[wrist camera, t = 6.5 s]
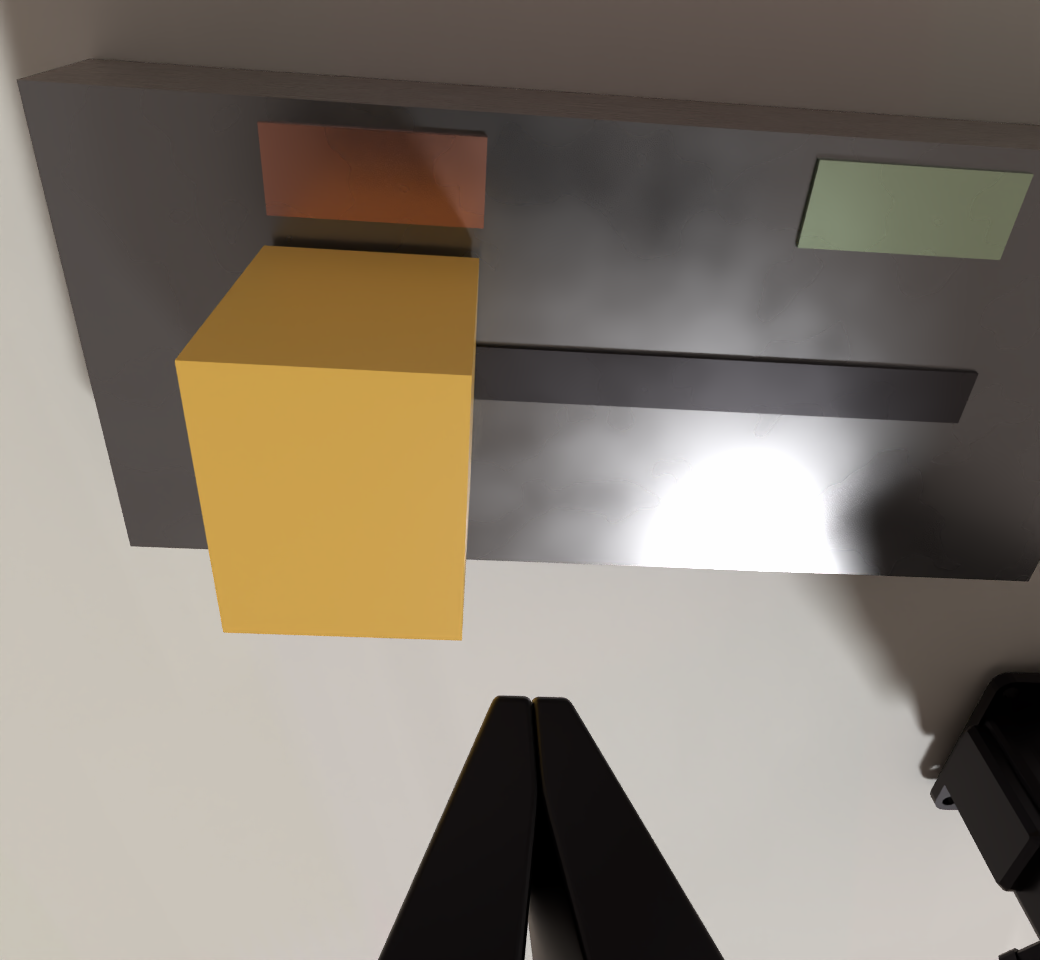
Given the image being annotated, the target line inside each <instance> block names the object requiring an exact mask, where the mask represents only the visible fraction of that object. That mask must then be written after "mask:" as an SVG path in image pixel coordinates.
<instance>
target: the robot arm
mask: <svg viewBox="0 0 1040 960" xmlns="http://www.w3.org/2000/svg"><path fill="white" fill-rule="evenodd" d="M930 795H931V797H932V799H933V801H934V803H935V805H936V807H937V808H939V809H944V810H958V811H959V813H960V815H961V817H962V818H963V820H964V822H965V824H966V826H967V828H968V830H969V832H970V834H971V835H972V837H973V839H974V841H975V843H976V845H977V847H978V849H979V851H980V853H981V854H982V856H983V858H984V860H985V862H986V864H987V866H988V868H989V870H990V871H991V873H992V875H993V877H994V879H995V881H996V883H997V884H998V885H999V886H1000V887H1001V888H1002V889H1003V890H1004V891H1013V892H1014V894H1015V895H1016V897H1017V899H1018V901H1019V903H1020V905H1021V907H1022V908H1023V910H1024V912H1025V914H1026V916H1027V918H1028V919H1029V921H1030V923H1031V925H1032V927H1033V929H1034V931H1035V932H1036V934H1037V936H1038V938H1039V940H1040V673H1012V672H1010V673H1003V674H1001V675H998V676H996V677H995V678H993V679H992V681H991V682H990V683H989V685H988V687H987V688H986V690H985V692H984V694H983V696H982V698H981V700H980V701H979V703H978V705H977V707H976V709H975V711H974V712H973V714H972V716H971V718H970V720H969V722H968V723H967V725H966V727H965V729H964V731H963V733H962V734H961V736H960V738H959V740H958V742H957V744H956V745H955V747H954V749H953V751H952V753H951V755H950V756H949V758H948V760H947V762H946V764H945V766H944V768H943V769H942V771H941V773H940V775H939V777H938V779H937V780H936V782H935V784H934V786H933V788H932V790H931V792H930ZM528 923H529V931H530V940H531V948H532V956H533V960H724V958H723V956H722V955H721V953H720V951H719V950H718V948H717V946H716V945H715V943H714V941H713V940H712V938H711V936H710V935H709V933H708V931H707V929H706V928H705V926H704V924H703V923H702V921H701V919H700V918H699V916H698V914H697V913H696V911H695V909H694V908H693V906H692V904H691V903H690V901H689V899H688V898H687V896H686V894H685V893H684V891H683V889H682V887H681V886H680V884H679V882H678V881H677V879H676V877H675V876H674V874H673V872H672V871H671V869H670V867H669V866H668V864H667V862H666V861H665V859H664V857H663V856H662V854H661V852H660V851H659V849H658V847H657V845H656V844H655V842H654V840H653V839H652V837H651V835H650V834H649V832H648V830H647V829H646V827H645V825H644V824H643V822H642V820H641V819H640V817H639V815H638V814H637V812H636V810H635V808H634V807H633V805H632V803H631V802H630V800H629V798H628V797H627V795H626V793H625V792H624V790H623V788H622V787H621V785H620V783H619V782H618V780H617V778H616V777H615V775H614V773H613V772H612V770H611V768H610V766H609V765H608V763H607V761H606V760H605V758H604V756H603V755H602V753H601V751H600V750H599V748H598V746H597V745H596V743H595V741H594V740H593V738H592V736H591V735H590V733H589V731H588V730H587V728H586V726H585V724H584V723H583V721H582V719H581V718H580V716H579V714H578V713H577V711H576V709H575V708H574V706H573V705H572V703H571V702H570V701H569V700H568V699H566V698H563V697H536V698H534V699H533V700H532V702H531V700H530V699H529V698H528V697H525V696H497V697H495V699H494V700H493V701H492V703H491V705H490V708H489V710H488V712H487V714H486V717H485V719H484V721H483V723H482V726H481V728H480V730H479V733H478V735H477V737H476V739H475V742H474V744H473V746H472V748H471V751H470V753H469V755H468V757H467V760H466V762H465V764H464V766H463V769H462V771H461V773H460V776H459V778H458V780H457V782H456V785H455V787H454V789H453V791H452V794H451V796H450V798H449V800H448V803H447V805H446V807H445V809H444V812H443V814H442V816H441V819H440V821H439V823H438V825H437V828H436V830H435V832H434V834H433V837H432V839H431V841H430V843H429V846H428V848H427V850H426V852H425V855H424V857H423V859H422V862H421V864H420V866H419V868H418V871H417V873H416V875H415V877H414V880H413V882H412V884H411V886H410V889H409V891H408V893H407V895H406V898H405V900H404V902H403V905H402V907H401V909H400V911H399V914H398V916H397V918H396V920H395V923H394V925H393V927H392V929H391V932H390V934H389V936H388V938H387V941H386V943H385V945H384V948H383V950H382V952H381V954H380V957H379V959H378V960H524V959H525V948H526V938H527V927H528ZM998 957H999V960H1040V941H1038V942H1036V943H1034V944H1031V945H1029V946H1027V947H1025V948H1023V949H1021V950H1018V949H1016V948H1014V949H1012V950H1009V951H1007V952H1005V953H1003V954H1001V955H999V956H998Z"/></svg>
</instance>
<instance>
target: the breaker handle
mask: <svg viewBox="0 0 1040 960" xmlns="http://www.w3.org/2000/svg"><path fill="white" fill-rule="evenodd" d="M478 279H479V258H469V257H452V256H435V255H418V254H401V253H384V252H367V251H350V250H333V249H316V248H299V247H282V246H265V245H264V246H263V247H262V249H261V250H260V251H259V252H258V254H257V255H256V256H255V258H254V259H253V260H252V261H251V263H250V264H249V265H248V267H247V268H246V269H245V270H244V272H243V273H242V274H241V276H240V277H239V278H238V279H237V281H236V282H235V283H234V285H233V286H232V287H231V288H230V290H229V291H228V292H227V294H226V295H225V296H224V297H223V299H222V300H221V301H220V303H219V304H218V305H217V306H216V308H215V309H214V310H213V312H212V313H211V314H210V315H209V317H208V318H207V319H206V321H205V322H204V323H203V324H202V326H201V327H200V328H199V330H198V331H197V332H196V333H195V335H194V336H193V337H192V339H191V340H190V341H189V342H188V344H187V345H186V346H185V348H184V349H183V350H182V352H181V353H180V354H179V355H178V357H177V358H176V359H175V366H176V371H177V377H178V382H179V388H180V393H181V399H182V405H183V410H184V416H185V421H186V427H187V432H188V438H189V444H190V449H191V455H192V460H193V466H194V471H195V477H196V483H197V488H198V494H199V499H200V505H201V511H202V516H203V522H204V527H205V533H206V538H207V544H208V550H209V555H210V561H211V566H212V572H213V577H214V583H215V589H216V594H217V600H218V605H219V611H220V616H221V622H222V628H223V632H225V633H255V634H285V635H314V636H344V637H373V638H403V639H433V640H462V625H463V607H464V589H465V570H466V552H467V533H468V515H469V497H470V478H471V453H472V428H473V403H474V378H475V354H476V329H477V304H478Z"/></svg>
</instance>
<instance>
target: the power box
mask: <svg viewBox="0 0 1040 960" xmlns="http://www.w3.org/2000/svg"><path fill="white" fill-rule="evenodd" d="M17 83H18V87H19V91H20V95H21V100H22V104H23V108H24V112H25V116H26V120H27V124H28V128H29V132H30V136H31V140H32V145H33V149H34V153H35V157H36V161H37V165H38V169H39V173H40V177H41V181H42V185H43V190H44V194H45V198H46V202H47V206H48V210H49V214H50V218H51V222H52V226H53V230H54V234H55V239H56V243H57V247H58V251H59V255H60V259H61V263H62V267H63V271H64V275H65V279H66V284H67V288H68V292H69V296H70V300H71V304H72V308H73V312H74V316H75V320H76V324H77V329H78V333H79V337H80V341H81V345H82V349H83V353H84V357H85V361H86V365H87V369H88V374H89V378H90V382H91V386H92V390H93V394H94V398H95V402H96V406H97V410H98V414H99V418H100V423H101V427H102V431H103V435H104V439H105V443H106V447H107V451H108V455H109V459H110V463H111V468H112V472H113V476H114V480H115V484H116V488H117V492H118V496H119V500H120V504H121V508H122V513H123V517H124V521H125V525H126V529H127V533H128V537H129V541H130V545H131V546H140V547H165V548H191V549H208V544H207V538H206V533H205V527H204V522H203V516H202V511H201V505H200V499H199V494H198V488H197V483H196V477H195V471H194V466H193V460H192V455H191V449H190V444H189V438H188V432H187V427H186V421H185V416H184V410H183V405H182V399H181V393H180V388H179V382H178V377H177V371H176V366H175V359H176V358H177V357H178V355H179V354H180V353H181V352H182V350H183V349H184V348H185V346H186V345H187V344H188V342H189V341H190V340H191V339H192V337H193V336H194V335H195V333H196V332H197V331H198V330H199V328H200V327H201V326H202V324H203V323H204V322H205V321H206V319H207V318H208V317H209V315H210V314H211V313H212V312H213V310H214V309H215V308H216V306H217V305H218V304H219V303H220V301H221V300H222V299H223V297H224V296H225V295H226V294H227V292H228V291H229V290H230V288H231V287H232V286H233V285H234V283H235V282H236V281H237V279H238V278H239V277H240V276H241V274H242V273H243V272H244V270H245V269H246V268H247V267H248V265H249V264H250V263H251V261H252V260H253V259H254V258H255V256H256V255H257V254H258V252H259V251H260V250H261V249H262V247H263V246H264V245H265V246H282V247H299V248H316V249H333V250H350V251H367V252H384V253H401V254H418V255H435V256H452V257H469V258H479V279H478V304H477V329H476V354H475V378H474V403H473V428H472V453H471V478H470V497H469V515H468V533H467V552H466V559H472V560H497V561H523V562H548V563H574V564H600V565H625V566H651V567H676V568H702V569H727V570H753V571H778V572H804V573H829V574H855V575H880V576H906V577H932V578H957V579H983V580H1008V581H1029V579H1030V577H1031V575H1032V574H1033V572H1034V570H1035V568H1036V566H1037V564H1038V562H1039V560H1040V125H1026V124H1012V123H998V122H984V121H969V120H955V119H941V118H927V117H913V116H898V115H884V114H870V113H856V112H842V111H827V110H813V109H799V108H785V107H770V106H756V105H742V104H728V103H714V102H699V101H685V100H671V99H657V98H642V97H628V96H614V95H600V94H586V93H571V92H557V91H543V90H529V89H514V88H500V87H486V86H472V85H458V84H443V83H429V82H415V81H401V80H387V79H372V78H358V77H344V76H330V75H315V74H301V73H287V72H273V71H259V70H244V69H230V68H216V67H202V66H187V65H173V64H159V63H145V62H131V61H116V60H102V59H88V60H84V61H81V62H77V63H74V64H70V65H67V66H63V67H60V68H56V69H53V70H49V71H46V72H42V73H39V74H35V75H32V76H28V77H25V78H21V79H18V80H17Z"/></svg>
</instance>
